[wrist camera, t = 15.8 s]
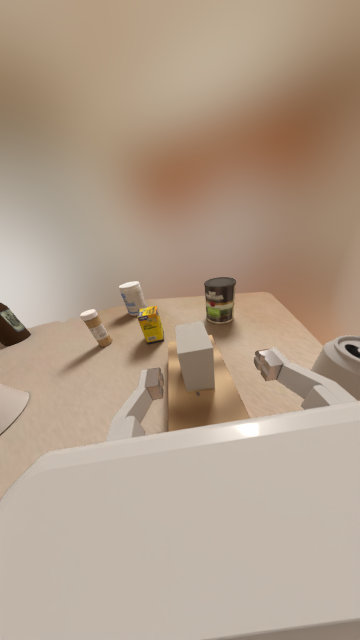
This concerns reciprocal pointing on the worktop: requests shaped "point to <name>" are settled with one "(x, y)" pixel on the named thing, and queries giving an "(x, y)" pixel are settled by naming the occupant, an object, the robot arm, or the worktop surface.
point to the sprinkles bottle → (96, 327)
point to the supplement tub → (133, 297)
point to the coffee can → (220, 299)
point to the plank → (202, 396)
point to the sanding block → (195, 357)
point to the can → (341, 363)
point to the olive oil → (11, 327)
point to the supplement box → (151, 324)
